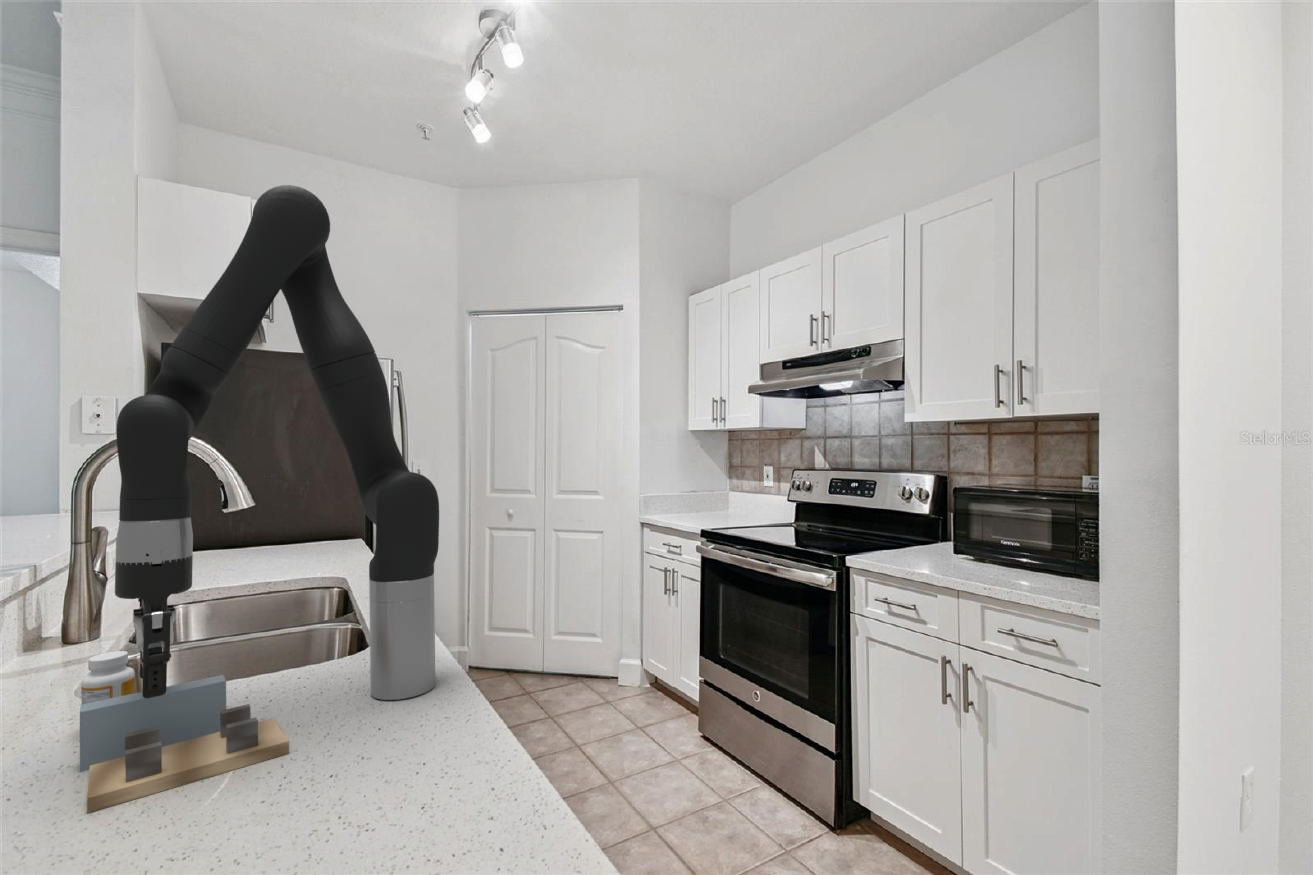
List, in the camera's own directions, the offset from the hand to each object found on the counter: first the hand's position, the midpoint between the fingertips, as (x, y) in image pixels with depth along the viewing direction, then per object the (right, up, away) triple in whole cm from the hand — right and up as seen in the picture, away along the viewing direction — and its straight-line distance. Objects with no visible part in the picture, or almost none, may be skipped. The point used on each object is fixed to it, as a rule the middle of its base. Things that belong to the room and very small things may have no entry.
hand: (152, 686), depth 77 cm
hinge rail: (+8, -8, -5) cm, 12 cm away
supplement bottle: (-11, -8, +6) cm, 15 cm away
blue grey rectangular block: (0, -8, 0) cm, 8 cm away
